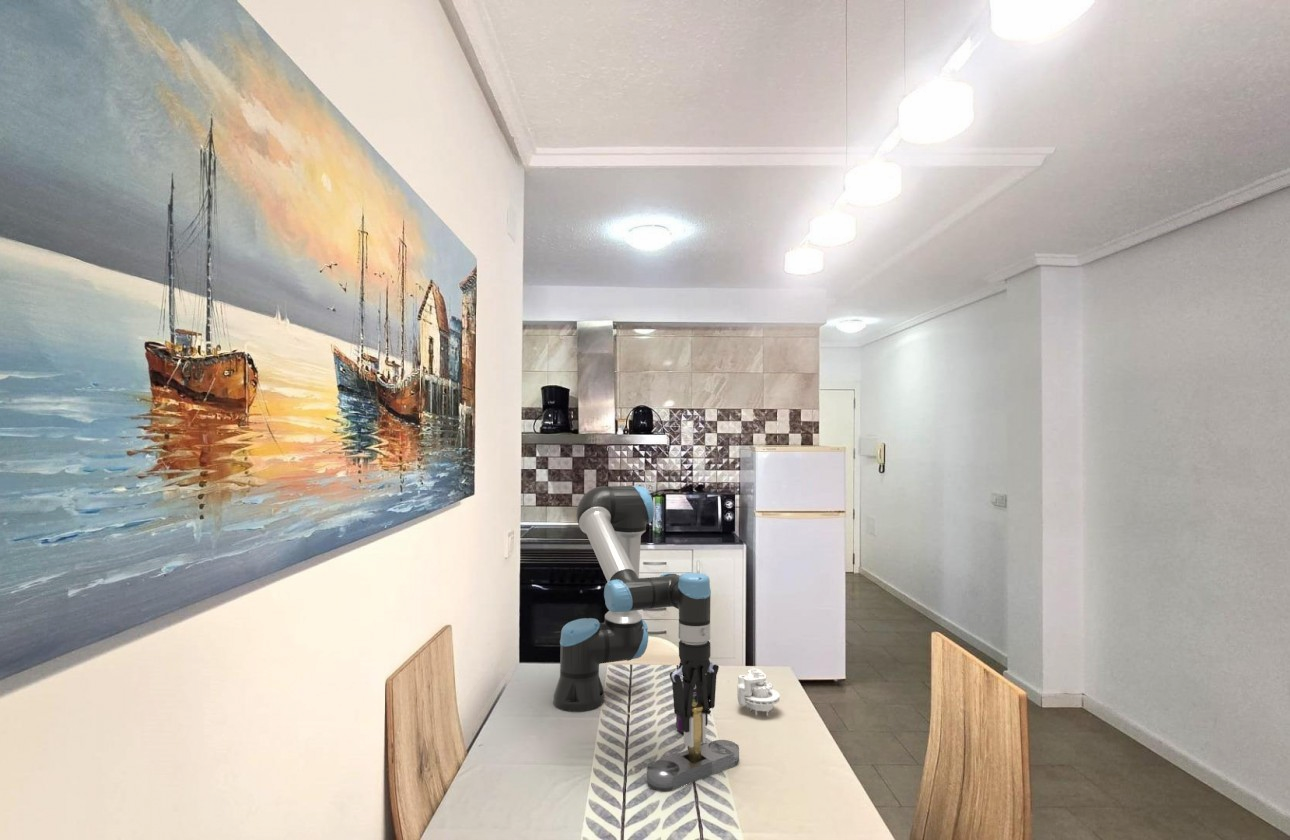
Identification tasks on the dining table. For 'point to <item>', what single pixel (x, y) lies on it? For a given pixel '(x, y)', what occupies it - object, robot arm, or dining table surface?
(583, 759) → the dining table surface
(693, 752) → the pin
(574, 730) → the dining table surface
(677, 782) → the slotted metal plate
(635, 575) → the robot arm
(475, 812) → the dining table surface
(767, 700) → the mechanical part
